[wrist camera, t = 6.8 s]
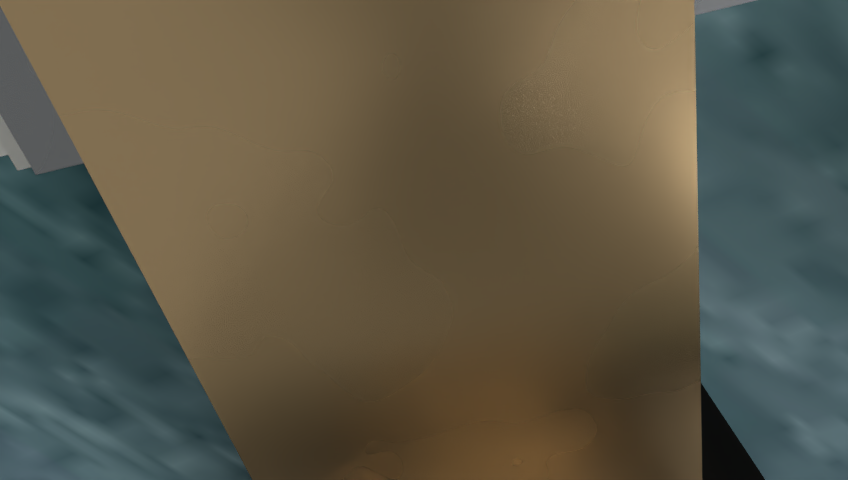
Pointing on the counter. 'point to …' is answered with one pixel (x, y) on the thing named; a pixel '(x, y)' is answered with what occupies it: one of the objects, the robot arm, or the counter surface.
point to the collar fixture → (42, 127)
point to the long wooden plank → (406, 222)
